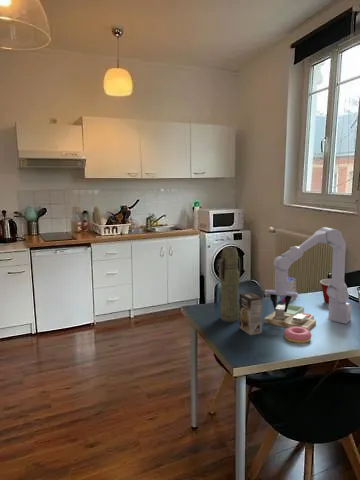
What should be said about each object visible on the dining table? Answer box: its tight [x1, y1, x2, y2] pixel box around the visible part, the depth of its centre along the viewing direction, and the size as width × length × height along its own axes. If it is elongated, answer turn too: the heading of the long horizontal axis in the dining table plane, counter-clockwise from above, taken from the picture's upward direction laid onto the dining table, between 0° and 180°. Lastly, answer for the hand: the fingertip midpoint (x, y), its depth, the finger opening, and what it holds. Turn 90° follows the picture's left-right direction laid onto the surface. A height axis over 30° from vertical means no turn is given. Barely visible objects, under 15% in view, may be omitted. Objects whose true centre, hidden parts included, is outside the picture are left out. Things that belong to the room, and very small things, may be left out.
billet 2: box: [293, 314, 307, 325], centre depth 164 cm, size 4×6×5 cm, turn 141°
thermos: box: [218, 246, 241, 323], centre depth 173 cm, size 9×12×35 cm
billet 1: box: [275, 304, 286, 321], centre depth 169 cm, size 4×6×5 cm, turn 155°
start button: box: [302, 312, 312, 318], centre depth 172 cm, size 4×4×2 cm
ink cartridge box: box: [279, 276, 297, 303], centre depth 201 cm, size 10×6×14 cm, turn 138°
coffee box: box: [239, 292, 263, 336], centre depth 160 cm, size 9×6×16 cm
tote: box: [273, 303, 305, 316], centre depth 181 cm, size 10×13×2 cm
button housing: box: [300, 312, 315, 320], centre depth 172 cm, size 6×6×2 cm
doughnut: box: [283, 326, 312, 344], centre depth 152 cm, size 11×11×4 cm
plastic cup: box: [319, 278, 332, 305], centre depth 195 cm, size 11×11×12 cm
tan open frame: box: [264, 311, 317, 331], centre depth 167 cm, size 20×11×2 cm, turn 51°
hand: (280, 310), depth 169 cm, fingers closed on billet 1, 4 cm apart
